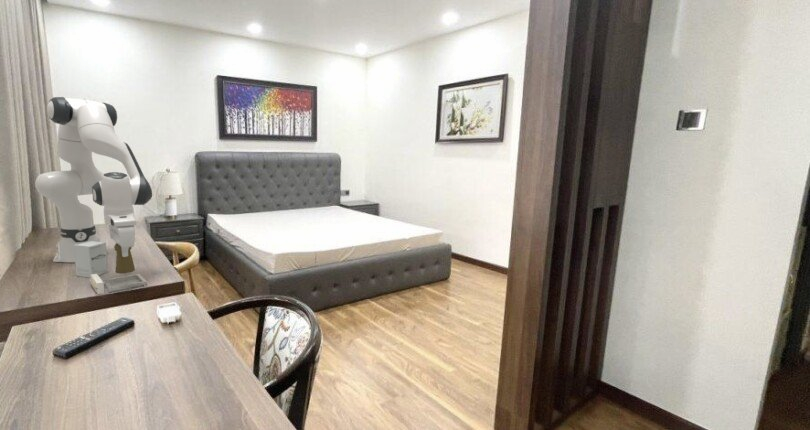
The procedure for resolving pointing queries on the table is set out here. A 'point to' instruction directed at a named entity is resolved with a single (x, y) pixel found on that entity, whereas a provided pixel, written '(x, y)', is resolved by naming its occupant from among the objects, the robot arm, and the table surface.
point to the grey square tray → (124, 282)
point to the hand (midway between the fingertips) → (123, 254)
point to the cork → (123, 261)
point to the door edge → (97, 283)
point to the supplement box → (90, 258)
